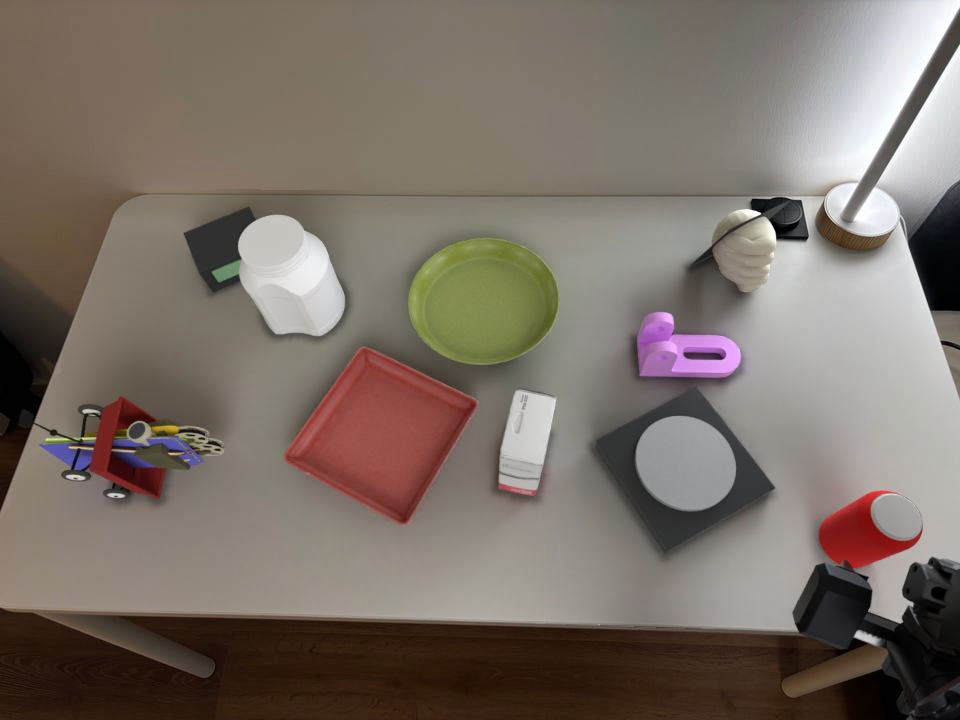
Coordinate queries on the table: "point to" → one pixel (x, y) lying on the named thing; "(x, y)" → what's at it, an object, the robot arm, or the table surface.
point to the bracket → (681, 351)
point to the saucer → (483, 301)
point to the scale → (682, 468)
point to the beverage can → (871, 529)
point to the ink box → (525, 441)
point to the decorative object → (744, 247)
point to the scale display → (219, 248)
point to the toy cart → (127, 448)
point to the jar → (290, 277)
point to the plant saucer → (382, 434)
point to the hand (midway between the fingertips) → (894, 582)
